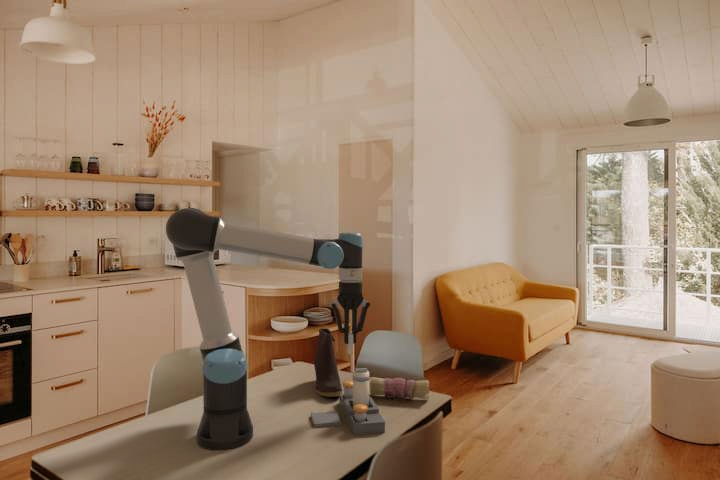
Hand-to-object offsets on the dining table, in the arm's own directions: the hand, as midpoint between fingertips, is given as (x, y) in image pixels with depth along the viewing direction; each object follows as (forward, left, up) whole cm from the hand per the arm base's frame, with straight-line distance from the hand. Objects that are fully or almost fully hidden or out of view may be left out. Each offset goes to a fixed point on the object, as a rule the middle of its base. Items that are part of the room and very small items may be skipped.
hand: (350, 353), depth 161 cm
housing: (+2, -9, -18) cm, 20 cm away
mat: (-9, -9, -18) cm, 22 cm away
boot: (-5, +18, -18) cm, 25 cm away
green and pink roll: (+18, +4, -18) cm, 26 cm away
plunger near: (0, -17, -16) cm, 23 cm away
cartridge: (+2, -8, -18) cm, 19 cm away
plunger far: (0, 0, -15) cm, 15 cm away
